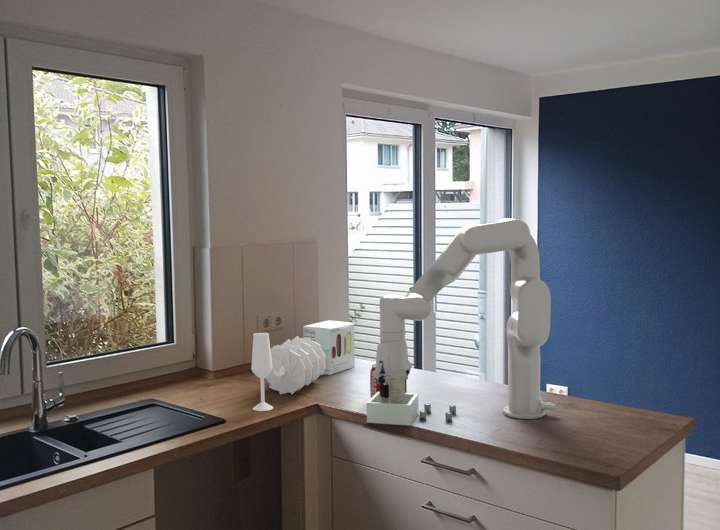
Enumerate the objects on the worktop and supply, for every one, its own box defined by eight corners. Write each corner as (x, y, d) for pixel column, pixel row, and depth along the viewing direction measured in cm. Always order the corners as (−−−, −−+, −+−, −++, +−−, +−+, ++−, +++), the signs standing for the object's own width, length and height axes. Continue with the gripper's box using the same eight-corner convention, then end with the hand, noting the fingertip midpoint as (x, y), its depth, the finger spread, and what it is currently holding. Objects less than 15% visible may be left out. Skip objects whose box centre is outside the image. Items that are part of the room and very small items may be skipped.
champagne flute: (261, 412, 227) (259, 336, 225) (248, 408, 231) (245, 334, 229) (277, 407, 232) (276, 333, 230) (264, 404, 236) (262, 331, 234)
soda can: (390, 404, 233) (389, 368, 232) (368, 403, 235) (368, 367, 234) (393, 398, 240) (393, 363, 239) (372, 398, 242) (372, 362, 241)
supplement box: (331, 375, 274) (330, 328, 273) (303, 371, 282) (302, 325, 280) (356, 367, 289) (355, 322, 287) (329, 363, 296) (328, 319, 295)
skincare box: (399, 406, 222) (398, 367, 221) (406, 409, 218) (406, 370, 217) (380, 409, 219) (380, 369, 218) (387, 412, 215) (387, 372, 214)
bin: (418, 413, 223) (418, 394, 223) (409, 425, 211) (409, 405, 210) (377, 410, 227) (377, 391, 226) (366, 422, 214) (366, 402, 214)
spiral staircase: (318, 391, 266) (291, 406, 243) (278, 368, 271) (248, 381, 247) (338, 348, 263) (313, 359, 240) (298, 325, 268) (269, 334, 244)
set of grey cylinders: (456, 413, 223) (456, 405, 222) (451, 422, 213) (451, 414, 213) (425, 411, 225) (425, 403, 225) (419, 420, 216) (418, 412, 216)
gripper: (402, 331, 226) (403, 387, 227) (363, 339, 214) (364, 398, 215) (421, 334, 220) (421, 391, 222) (381, 342, 208) (382, 402, 210)
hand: (393, 394), depth 218 cm, fingers closed on skincare box, 7 cm apart
